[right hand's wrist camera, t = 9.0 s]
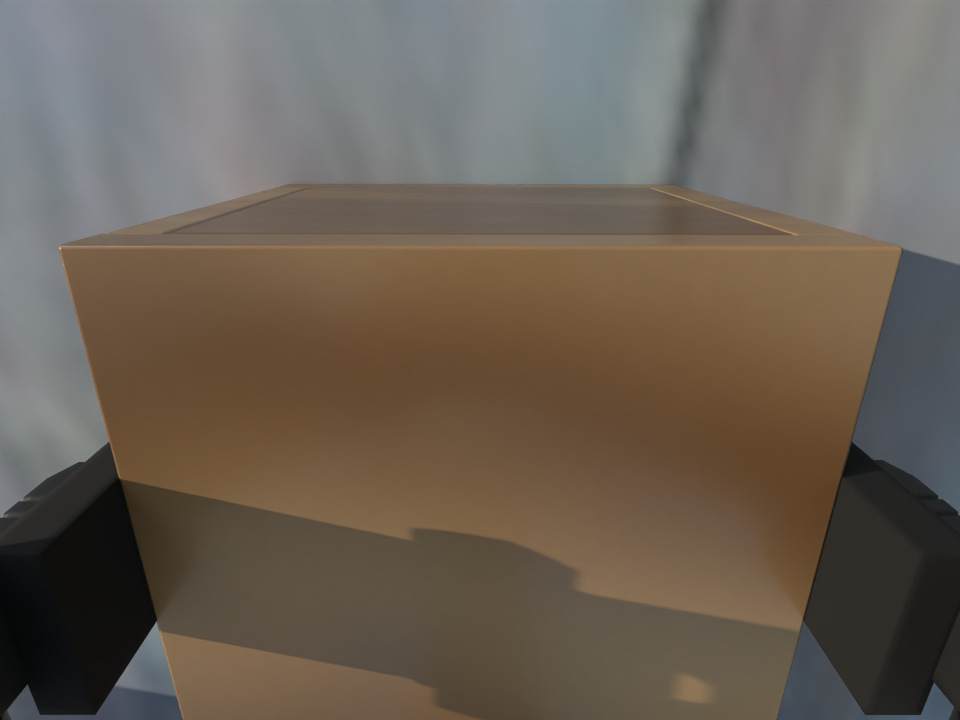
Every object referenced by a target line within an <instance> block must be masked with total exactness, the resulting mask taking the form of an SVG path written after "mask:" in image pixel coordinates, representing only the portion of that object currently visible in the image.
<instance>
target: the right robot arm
mask: <svg viewBox="0 0 960 720" xmlns="http://www.w3.org/2000/svg"><path fill="white" fill-rule="evenodd" d="M156 621H157V620H156V616H155V612H154V609H153V605H152V601H151V597H150V593H149V590H148V586H147V582H146V578H145V574H144V571H143V567H142V563H141V559H140V555H139V552H138V548H137V544H136V540H135V536H134V533H133V529H132V525H131V521H130V517H129V514H128V510H127V506H126V502H125V499H124V495H123V491H122V487H121V483H120V480H119V476H118V472H117V468H116V464H115V461H114V457H113V453H112V449H111V445H110V442H108V443H107V444H106V445H105V446H104V447H102V448H101V449H100V450H99V451H98V452H96V453H95V454H94V455H93V456H92V457H91V458H89V459H88V460H87V461H86V462H78V463H76V464H74V465H72V466H71V467H69V468H67V469H65V470H63V471H61V472H59V473H57V474H55V475H53V476H51V477H49V478H47V479H46V480H45V481H44V482H42V483H41V484H40V485H39V486H37V487H36V488H35V489H34V490H32V491H31V492H30V493H29V494H28V495H26V496H25V497H24V500H23V502H18V503H16V504H15V505H14V506H13V507H12V508H10V509H9V510H8V511H7V512H5V513H4V517H3V518H0V720H11V718H10V716H9V714H8V712H7V709H8V708H9V706H10V705H11V704H12V703H13V701H14V700H15V699H16V698H17V696H18V695H19V694H20V693H21V692H22V690H23V689H24V688H25V687H26V685H27V684H28V686H29V688H30V691H31V693H32V696H33V698H34V701H35V703H36V706H37V708H38V711H39V713H40V715H96V713H97V711H98V710H99V708H100V707H101V705H102V704H103V702H104V701H105V699H106V698H107V696H108V695H109V693H110V692H111V690H112V689H113V687H114V685H115V684H116V682H117V681H118V679H119V678H120V676H121V675H122V673H123V672H124V670H125V669H126V667H127V666H128V664H129V663H130V661H131V659H132V658H133V656H134V655H135V653H136V652H137V650H138V649H139V647H140V646H141V644H142V643H143V641H144V640H145V638H146V637H147V635H148V633H149V632H150V630H151V629H152V627H153V626H154V624H155V623H156ZM804 622H805V623H806V625H807V626H808V628H809V629H810V631H811V633H812V634H813V636H814V637H815V639H816V640H817V642H818V643H819V645H820V646H821V648H822V649H823V651H824V652H825V654H826V655H827V657H828V659H829V660H830V662H831V663H832V665H833V666H834V668H835V669H836V671H837V672H838V674H839V675H840V677H841V678H842V680H843V681H844V683H845V685H846V686H847V688H848V689H849V691H850V692H851V694H852V695H853V697H854V698H855V700H856V701H857V703H858V704H859V706H860V707H861V709H862V710H863V712H864V714H865V715H921V713H922V710H923V708H924V705H925V703H926V700H927V698H928V695H929V693H930V691H931V688H932V686H933V683H934V682H935V684H936V685H937V686H938V687H939V689H940V690H941V691H942V692H943V694H944V695H945V696H946V697H947V698H948V700H949V701H950V702H951V703H952V705H953V706H954V709H953V712H952V714H951V716H950V718H949V720H960V516H959V515H958V511H956V510H955V509H954V508H953V507H951V506H950V505H949V504H948V503H946V502H945V501H944V500H943V499H938V495H937V494H935V493H934V492H933V491H932V490H930V489H929V488H928V487H927V486H925V485H924V484H923V483H922V482H920V481H919V480H918V479H917V478H915V477H914V476H912V475H910V474H908V473H906V472H904V471H902V470H900V469H899V468H897V467H895V466H893V465H891V464H889V463H887V462H885V461H883V460H872V459H871V458H870V457H869V456H868V455H867V454H865V453H864V452H863V451H862V450H861V449H860V448H858V447H857V446H856V445H855V444H854V443H852V442H851V446H850V450H849V453H848V457H847V461H846V465H845V468H844V472H843V476H842V480H841V483H840V487H839V491H838V494H837V498H836V502H835V506H834V509H833V513H832V517H831V521H830V524H829V528H828V532H827V535H826V539H825V543H824V547H823V550H822V554H821V558H820V561H819V565H818V569H817V573H816V576H815V580H814V584H813V588H812V591H811V595H810V599H809V602H808V606H807V610H806V614H805V617H804Z"/></svg>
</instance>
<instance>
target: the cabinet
mask: <svg viewBox="0 0 960 720" xmlns="http://www.w3.org/2000/svg"><path fill="white" fill-rule="evenodd" d="M59 252H60V256H61V260H62V263H63V267H64V271H65V275H66V278H67V282H68V286H69V290H70V294H71V297H72V301H73V305H74V309H75V313H76V316H77V320H78V324H79V328H80V332H81V335H82V339H83V343H84V347H85V351H86V354H87V358H88V362H89V366H90V370H91V373H92V377H93V381H94V385H95V389H96V392H97V396H98V400H99V404H100V407H101V411H102V415H103V419H104V423H105V426H106V430H107V434H108V438H109V442H110V445H111V449H112V453H113V457H114V461H115V464H116V468H117V472H118V476H119V480H120V483H121V487H122V491H123V495H124V499H125V502H126V506H127V510H128V514H129V517H130V521H131V525H132V529H133V533H134V536H135V540H136V544H137V548H138V552H139V555H140V559H141V563H142V567H143V571H144V574H145V578H146V582H147V586H148V590H149V593H150V597H151V601H152V605H153V609H154V612H155V616H156V620H157V624H158V628H159V631H160V635H161V639H162V643H163V646H164V650H165V654H166V658H167V662H168V665H169V669H170V673H171V677H172V681H173V684H174V688H175V692H176V696H177V700H178V703H179V707H180V711H181V715H182V719H183V720H777V718H778V714H779V711H780V707H781V703H782V699H783V696H784V692H785V688H786V684H787V681H788V677H789V673H790V670H791V666H792V662H793V658H794V655H795V651H796V647H797V643H798V640H799V636H800V632H801V629H802V625H803V621H804V617H805V614H806V610H807V606H808V602H809V599H810V595H811V591H812V588H813V584H814V580H815V576H816V573H817V569H818V565H819V561H820V558H821V554H822V550H823V547H824V543H825V539H826V535H827V532H828V528H829V524H830V521H831V517H832V513H833V509H834V506H835V502H836V498H837V494H838V491H839V487H840V483H841V480H842V476H843V472H844V468H845V465H846V461H847V457H848V453H849V450H850V446H851V442H852V439H853V435H854V431H855V427H856V424H857V420H858V416H859V412H860V409H861V405H862V401H863V398H864V394H865V390H866V386H867V383H868V379H869V375H870V371H871V368H872V364H873V360H874V357H875V353H876V349H877V345H878V342H879V338H880V334H881V331H882V327H883V323H884V319H885V316H886V312H887V308H888V304H889V301H890V297H891V293H892V290H893V286H894V282H895V278H896V275H897V271H898V267H899V263H900V260H901V256H902V252H903V248H902V247H900V246H898V245H895V244H891V243H887V242H883V241H880V240H876V239H872V238H869V237H865V236H861V235H857V234H854V233H850V232H847V231H843V230H839V229H835V228H832V227H828V226H824V225H820V224H817V223H813V222H809V221H806V220H802V219H798V218H794V217H791V216H787V215H783V214H779V213H776V212H772V211H768V210H765V209H761V208H757V207H753V206H750V205H746V204H742V203H738V202H735V201H731V200H727V199H724V198H720V197H716V196H712V195H709V194H705V193H701V192H697V191H694V190H690V189H686V188H681V187H678V186H674V185H450V184H288V185H284V186H280V187H277V188H274V189H270V190H266V191H262V192H259V193H255V194H251V195H248V196H244V197H240V198H236V199H233V200H229V201H225V202H221V203H218V204H214V205H210V206H207V207H203V208H199V209H195V210H192V211H188V212H184V213H180V214H177V215H173V216H169V217H166V218H162V219H158V220H154V221H151V222H147V223H143V224H140V225H136V226H132V227H128V228H125V229H121V230H117V231H113V232H110V233H108V234H99V235H96V236H92V237H88V238H84V239H81V240H77V241H73V242H69V243H66V244H62V245H60V246H59Z"/></svg>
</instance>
